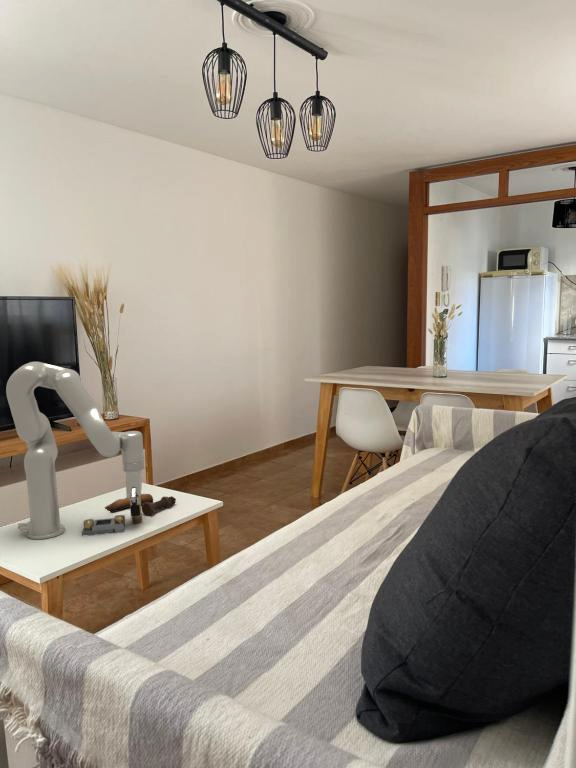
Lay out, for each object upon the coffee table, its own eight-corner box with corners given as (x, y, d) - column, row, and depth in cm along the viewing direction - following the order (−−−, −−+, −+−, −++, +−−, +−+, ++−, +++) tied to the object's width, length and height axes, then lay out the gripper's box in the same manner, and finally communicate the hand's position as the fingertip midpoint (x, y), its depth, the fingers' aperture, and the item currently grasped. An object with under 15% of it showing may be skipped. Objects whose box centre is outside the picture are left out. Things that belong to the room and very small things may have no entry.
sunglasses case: (144, 497, 243) (147, 486, 240) (151, 509, 239) (154, 497, 236) (102, 508, 231) (104, 496, 228) (109, 520, 227) (112, 508, 224)
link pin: (130, 525, 212) (128, 490, 210) (131, 521, 216) (129, 486, 214) (142, 524, 213) (140, 489, 211) (143, 520, 217) (141, 485, 215)
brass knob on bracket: (82, 536, 203) (81, 523, 202) (84, 528, 209) (84, 516, 209) (124, 531, 205) (123, 519, 205) (126, 524, 212) (125, 513, 212)
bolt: (175, 509, 234) (148, 519, 221) (166, 501, 236) (139, 511, 223) (180, 497, 232) (153, 507, 219) (171, 490, 234) (144, 499, 221)
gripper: (124, 460, 219) (127, 504, 221) (120, 472, 203) (123, 520, 205) (145, 459, 221) (147, 502, 223) (142, 470, 204) (145, 518, 206)
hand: (136, 511), depth 214 cm, fingers open, 9 cm apart
